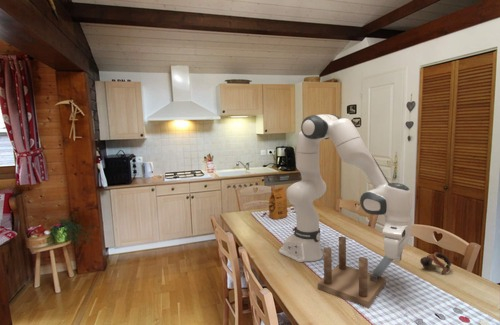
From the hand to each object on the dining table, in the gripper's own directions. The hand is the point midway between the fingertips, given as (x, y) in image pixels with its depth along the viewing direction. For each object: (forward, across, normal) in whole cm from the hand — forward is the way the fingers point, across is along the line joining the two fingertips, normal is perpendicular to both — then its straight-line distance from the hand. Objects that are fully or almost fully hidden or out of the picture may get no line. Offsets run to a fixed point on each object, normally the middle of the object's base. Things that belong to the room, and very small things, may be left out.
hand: (397, 261), depth 107 cm
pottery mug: (+13, -27, +8) cm, 31 cm away
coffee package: (+11, -47, -91) cm, 103 cm away
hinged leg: (+8, 0, -8) cm, 12 cm away
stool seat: (+12, +7, -15) cm, 21 cm away
